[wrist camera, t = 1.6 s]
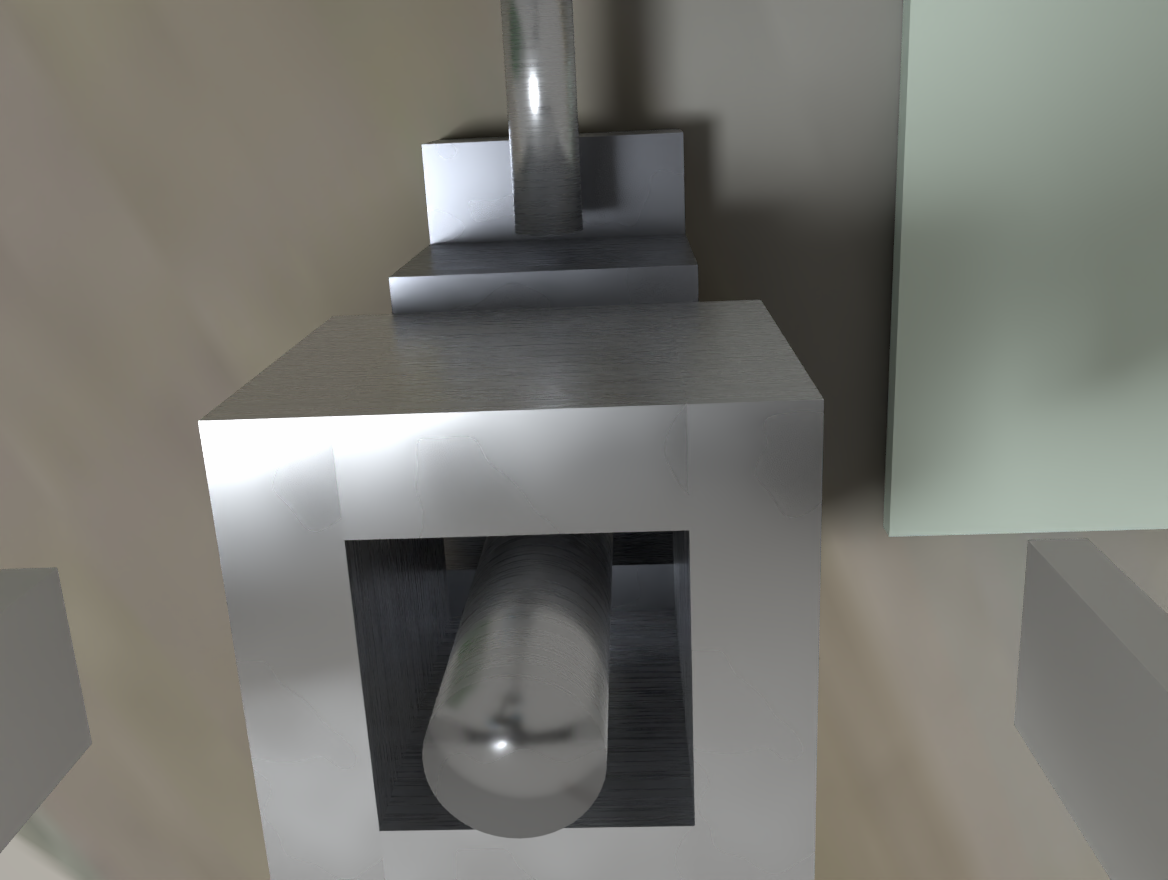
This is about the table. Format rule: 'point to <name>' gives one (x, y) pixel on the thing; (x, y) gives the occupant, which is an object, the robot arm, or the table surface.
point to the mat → (1030, 269)
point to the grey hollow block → (527, 507)
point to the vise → (551, 561)
